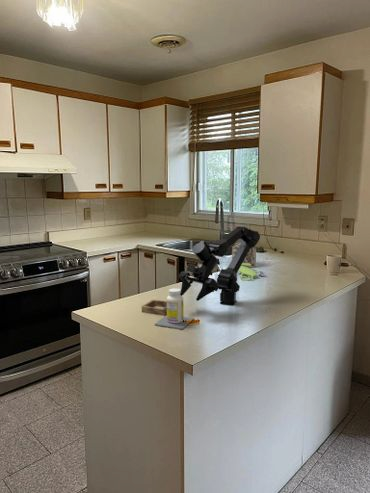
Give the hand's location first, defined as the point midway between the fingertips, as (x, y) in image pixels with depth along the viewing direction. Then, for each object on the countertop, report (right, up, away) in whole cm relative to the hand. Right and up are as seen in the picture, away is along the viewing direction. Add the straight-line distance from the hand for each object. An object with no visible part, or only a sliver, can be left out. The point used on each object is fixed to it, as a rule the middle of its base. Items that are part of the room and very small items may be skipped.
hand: (188, 297), depth 155 cm
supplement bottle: (-6, -9, -4) cm, 11 cm away
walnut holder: (-13, -7, +11) cm, 18 cm away
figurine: (+34, +3, +73) cm, 81 cm away
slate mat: (-6, -9, -4) cm, 12 cm away
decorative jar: (+37, +7, +94) cm, 102 cm away
